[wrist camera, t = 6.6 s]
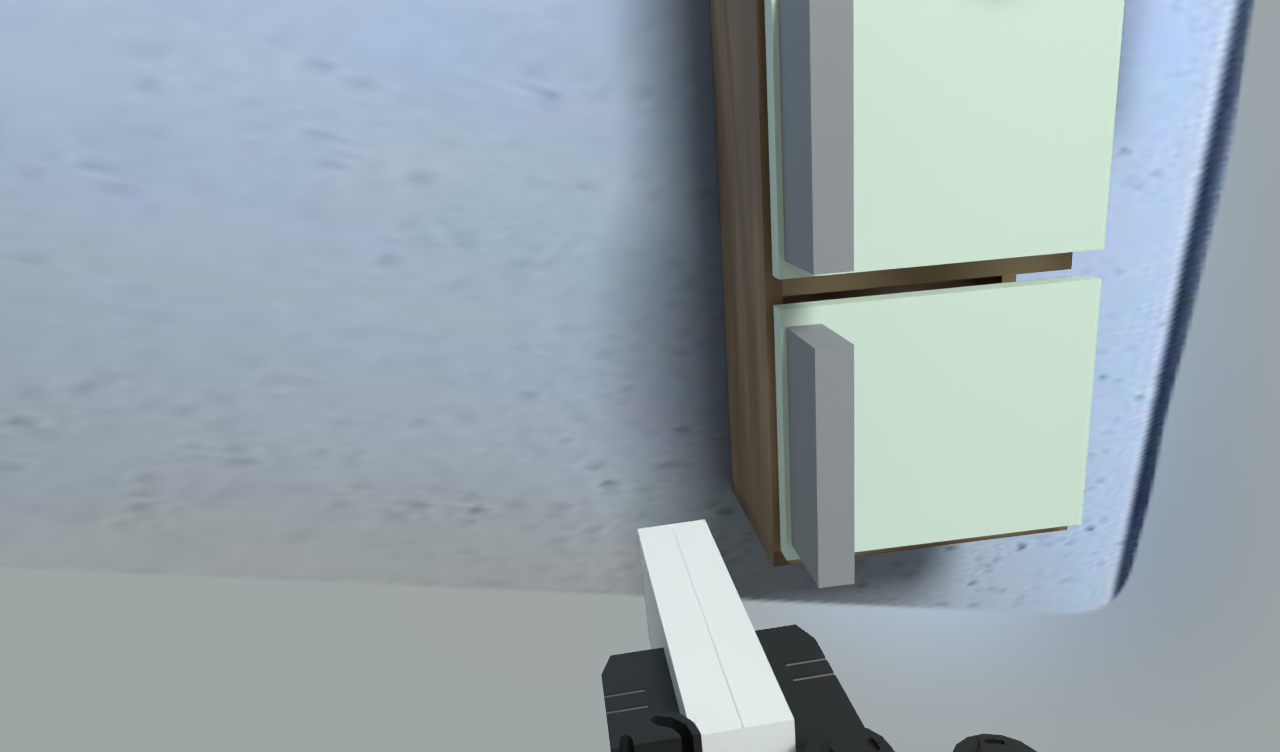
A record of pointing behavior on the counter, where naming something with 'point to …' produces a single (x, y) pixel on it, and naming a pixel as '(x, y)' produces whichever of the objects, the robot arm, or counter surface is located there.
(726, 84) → the box
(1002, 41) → the lid
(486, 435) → the counter surface
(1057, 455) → the lid
